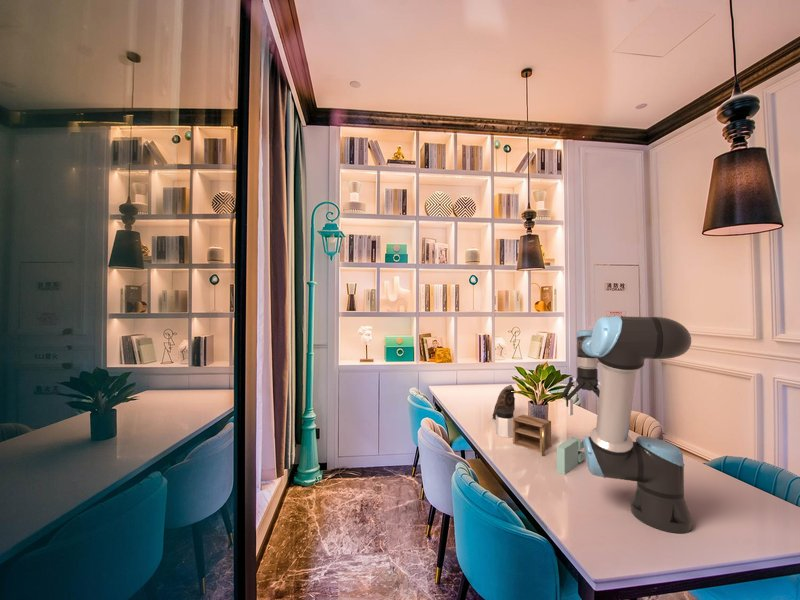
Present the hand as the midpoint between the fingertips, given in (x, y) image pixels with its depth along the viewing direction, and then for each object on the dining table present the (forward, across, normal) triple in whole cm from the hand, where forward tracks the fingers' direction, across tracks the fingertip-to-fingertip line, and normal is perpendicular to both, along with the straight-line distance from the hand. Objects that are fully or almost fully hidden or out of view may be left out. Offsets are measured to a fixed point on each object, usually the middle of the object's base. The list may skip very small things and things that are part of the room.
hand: (587, 418), depth 144 cm
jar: (+19, +42, -5) cm, 47 cm away
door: (+19, +5, +6) cm, 21 cm away
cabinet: (+19, +26, -3) cm, 32 cm away
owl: (+19, +56, -26) cm, 65 cm away
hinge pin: (+19, +17, +5) cm, 26 cm away
